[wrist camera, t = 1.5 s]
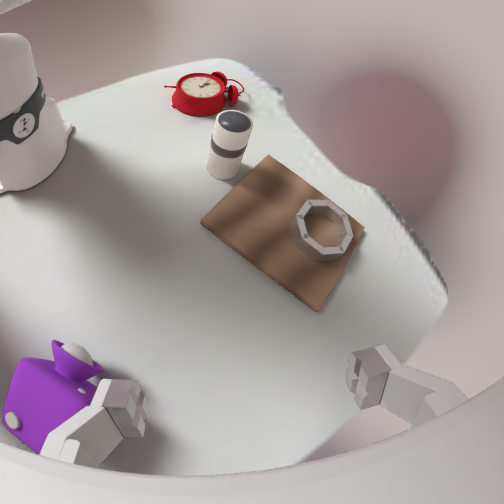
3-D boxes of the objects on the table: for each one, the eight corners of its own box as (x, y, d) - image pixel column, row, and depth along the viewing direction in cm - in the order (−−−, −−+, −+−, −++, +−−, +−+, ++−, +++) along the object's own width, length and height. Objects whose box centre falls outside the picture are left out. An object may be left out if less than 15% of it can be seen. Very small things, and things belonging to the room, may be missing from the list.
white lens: (199, 167, 43) (207, 120, 34) (220, 150, 46) (231, 104, 37) (225, 185, 43) (238, 139, 34) (244, 167, 45) (260, 122, 36)
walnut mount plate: (200, 223, 40) (201, 220, 39) (266, 158, 47) (268, 154, 46) (316, 311, 39) (319, 310, 38) (361, 230, 46) (364, 227, 45)
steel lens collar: (280, 234, 41) (286, 226, 39) (308, 198, 45) (314, 189, 42) (328, 271, 40) (337, 265, 38) (351, 232, 44) (359, 224, 42)
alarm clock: (159, 80, 45) (228, 54, 48) (165, 102, 51) (228, 76, 54) (180, 109, 43) (256, 80, 46) (185, 132, 49) (254, 102, 52)
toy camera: (122, 358, 30) (100, 354, 21) (105, 457, 25) (82, 484, 16) (48, 331, 29) (10, 316, 20) (32, 426, 23) (-7, 437, 14)
